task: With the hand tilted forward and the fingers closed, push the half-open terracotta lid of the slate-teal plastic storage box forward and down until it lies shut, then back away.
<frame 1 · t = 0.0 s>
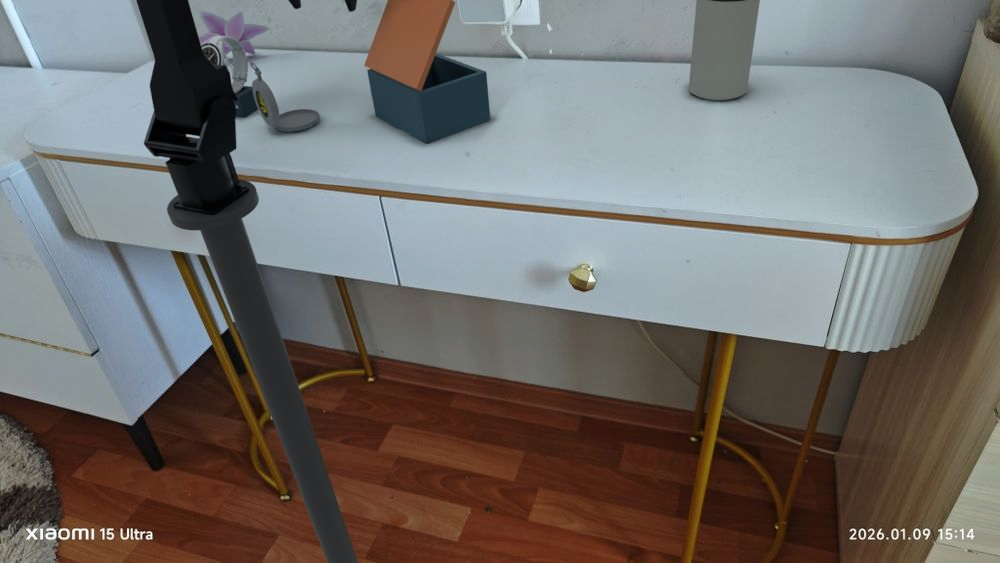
hand: (324, 9, 95), 14 cm above the table, tool pointing down, fingers open, 9 cm apart
travel mug: (717, 92, 98), on the table
storage box: (431, 118, 97), on the table
pocket watch: (289, 128, 99), on the table
lily: (238, 63, 125), on the table
box lid: (406, 35, 89), point 12 cm above the table, hinge at 55.0°
watch: (239, 112, 105), on the table
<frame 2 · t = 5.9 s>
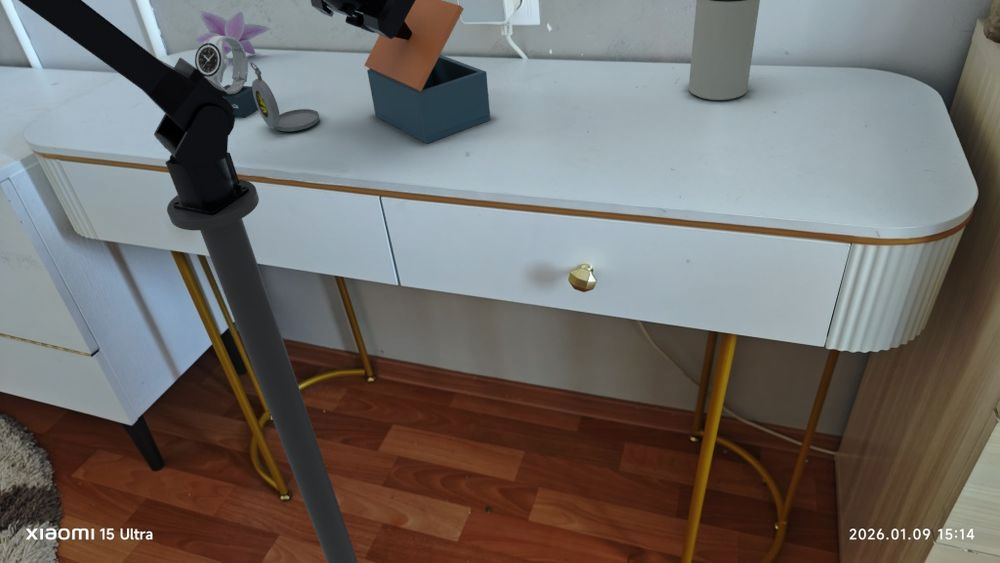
hand: (409, 36, 90), 12 cm above the table, tool tilted 45°, fingers closed, pressing on box lid
box lid: (411, 38, 90), point 11 cm above the table, hinge at 47.4°, touching gripper
everything else where it was.
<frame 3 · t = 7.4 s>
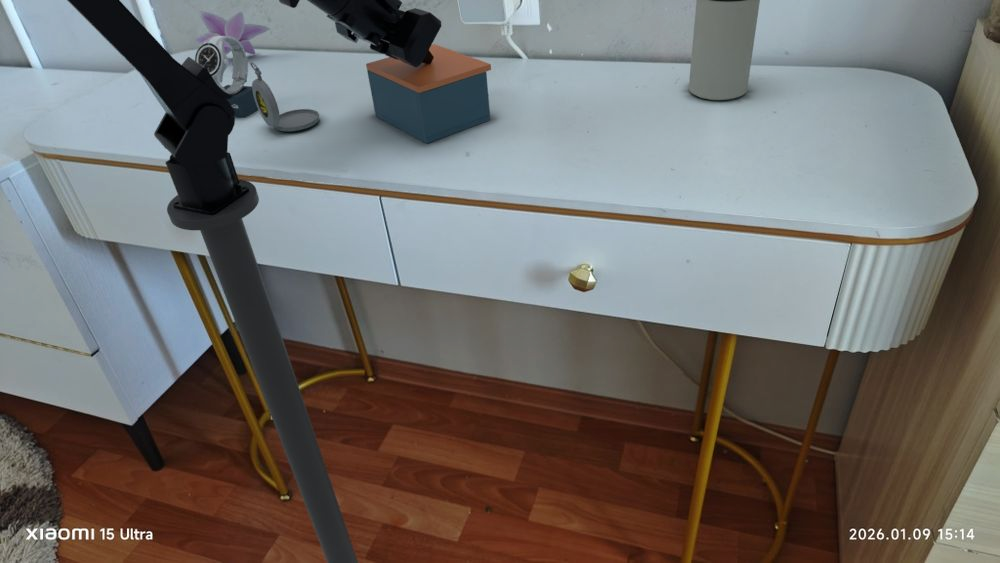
hand: (430, 60, 93), 8 cm above the table, tool tilted 45°, fingers closed, pressing on box lid
box lid: (427, 66, 93), point 7 cm above the table, hinge at -0.3°, touching gripper, storage box
everything else where it was.
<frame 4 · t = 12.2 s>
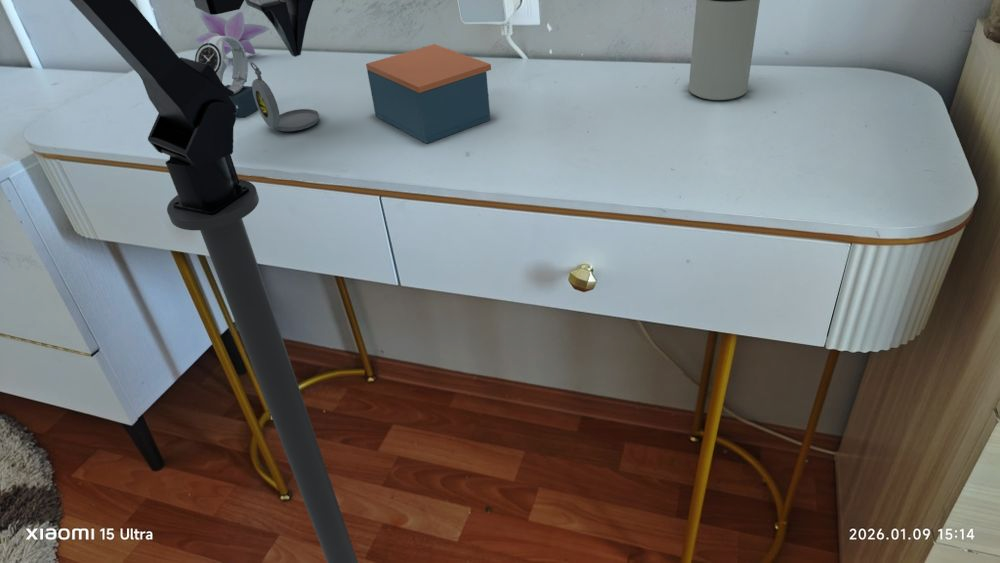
hand: (296, 55, 86), 12 cm above the table, tool pointing down, fingers closed
box lid: (427, 66, 93), point 7 cm above the table, hinge at -0.3°, touching storage box
everything else where it was.
at the end: box lid at +0° (first picture: +55°) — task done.
